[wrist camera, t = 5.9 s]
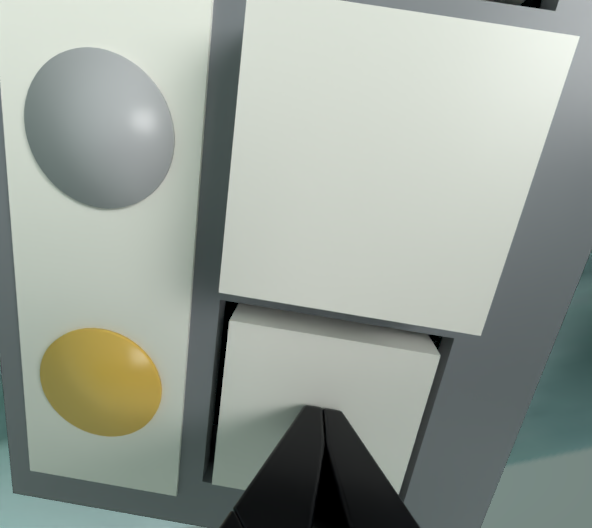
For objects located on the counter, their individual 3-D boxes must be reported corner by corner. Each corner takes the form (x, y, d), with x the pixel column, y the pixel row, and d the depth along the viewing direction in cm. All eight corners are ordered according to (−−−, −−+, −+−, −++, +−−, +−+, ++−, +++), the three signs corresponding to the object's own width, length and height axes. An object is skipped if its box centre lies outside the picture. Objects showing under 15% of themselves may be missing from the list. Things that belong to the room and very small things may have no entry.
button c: (411, 307, 10) (440, 355, 8) (377, 439, 11) (392, 515, 9) (251, 280, 10) (229, 320, 8) (234, 414, 11) (211, 484, 9)
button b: (494, 74, 7) (579, 36, 5) (436, 284, 9) (480, 336, 6) (271, 40, 7) (247, -14, 5) (247, 253, 9) (218, 292, 6)
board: (688, -312, 7) (977, -677, 4) (430, 476, 13) (465, 581, 9) (63, -395, 7) (-129, -802, 4) (82, 416, 13) (6, 499, 10)
